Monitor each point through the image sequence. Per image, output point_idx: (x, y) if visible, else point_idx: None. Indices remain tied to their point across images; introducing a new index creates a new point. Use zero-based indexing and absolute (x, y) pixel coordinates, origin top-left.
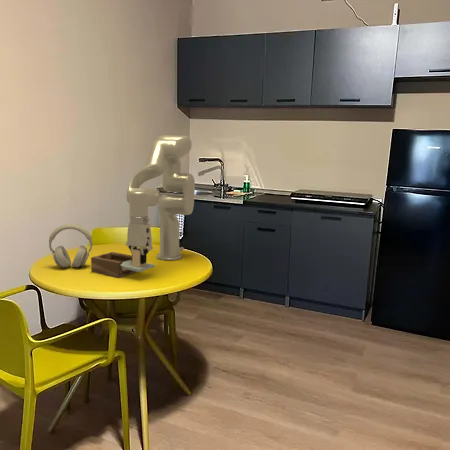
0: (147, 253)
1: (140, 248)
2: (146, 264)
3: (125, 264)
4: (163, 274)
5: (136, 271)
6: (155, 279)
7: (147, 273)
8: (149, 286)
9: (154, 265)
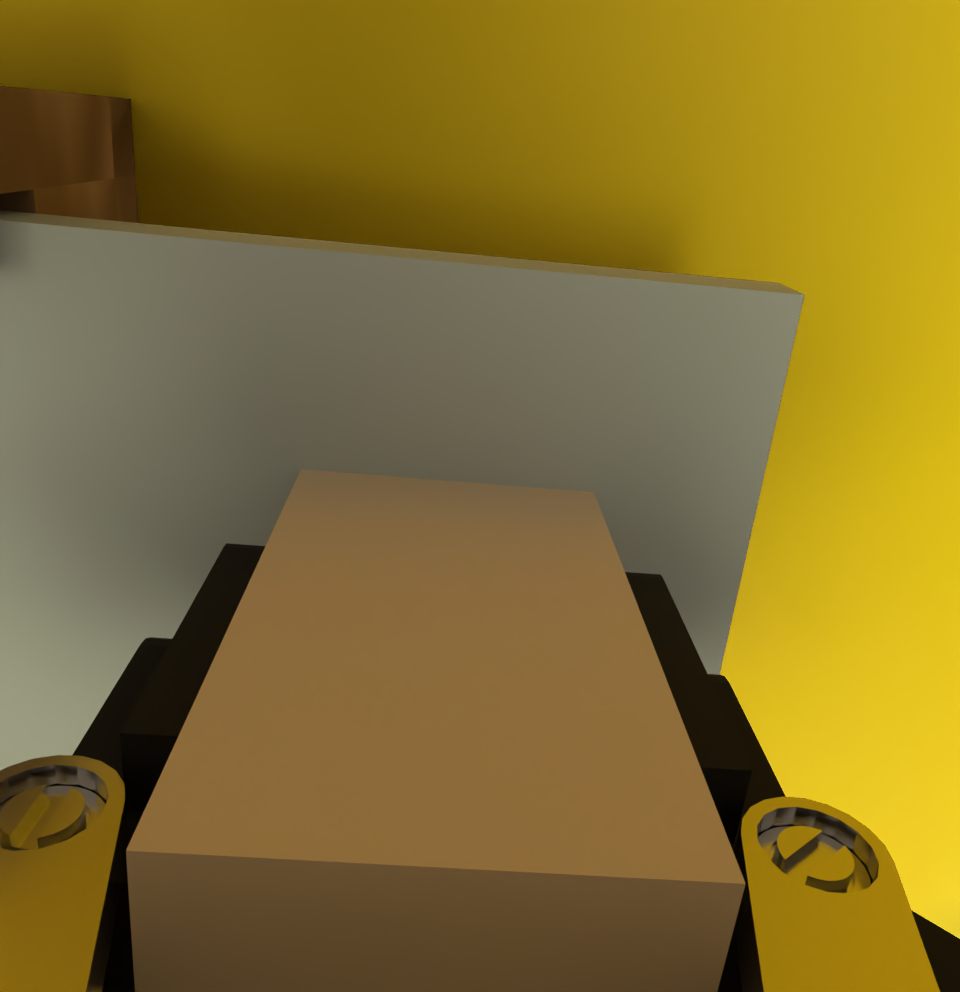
0: (851, 825)
1: (321, 890)
2: (558, 411)
3: (43, 712)
4: (852, 8)
5: (131, 216)
6: (850, 460)
7: (436, 156)
8: (929, 823)
9: (794, 291)
